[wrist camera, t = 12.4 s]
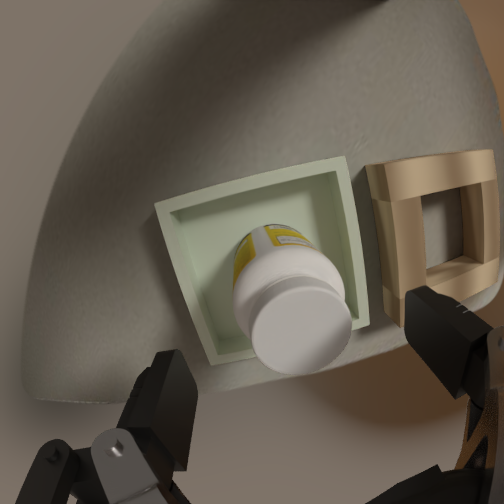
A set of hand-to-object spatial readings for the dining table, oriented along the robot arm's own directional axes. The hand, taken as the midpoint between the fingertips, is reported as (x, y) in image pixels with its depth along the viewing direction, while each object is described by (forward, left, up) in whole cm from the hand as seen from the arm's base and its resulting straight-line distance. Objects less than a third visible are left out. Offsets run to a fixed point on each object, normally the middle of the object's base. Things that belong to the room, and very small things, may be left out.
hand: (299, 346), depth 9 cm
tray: (0, 0, -11) cm, 11 cm away
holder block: (+8, +12, -11) cm, 18 cm away
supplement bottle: (0, 0, -11) cm, 11 cm away
